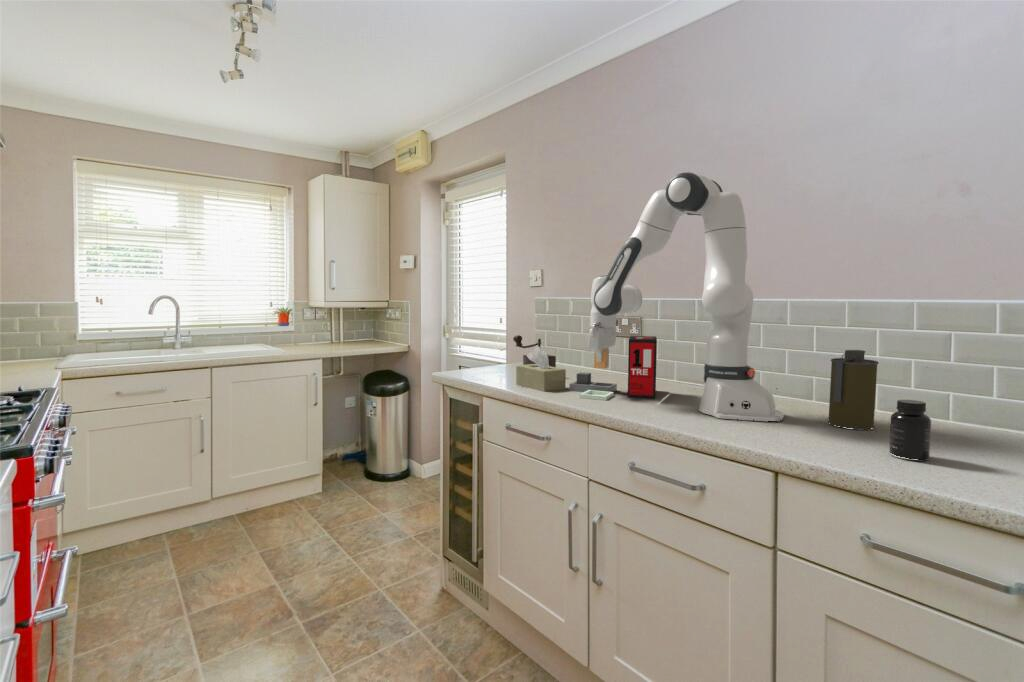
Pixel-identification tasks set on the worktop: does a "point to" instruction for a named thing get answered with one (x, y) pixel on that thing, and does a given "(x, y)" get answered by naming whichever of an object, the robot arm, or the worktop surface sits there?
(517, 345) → the pepper mill
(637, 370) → the cleaning product box
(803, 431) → the worktop surface
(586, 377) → the black plug
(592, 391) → the tray
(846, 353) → the canister
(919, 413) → the supplement bottle
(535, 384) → the tissue box
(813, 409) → the worktop surface
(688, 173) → the robot arm
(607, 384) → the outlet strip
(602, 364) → the orange plug
